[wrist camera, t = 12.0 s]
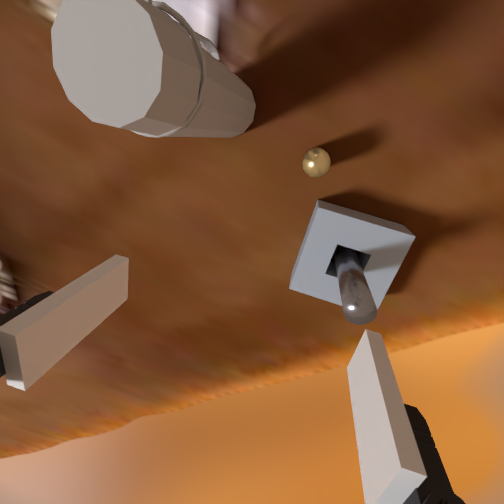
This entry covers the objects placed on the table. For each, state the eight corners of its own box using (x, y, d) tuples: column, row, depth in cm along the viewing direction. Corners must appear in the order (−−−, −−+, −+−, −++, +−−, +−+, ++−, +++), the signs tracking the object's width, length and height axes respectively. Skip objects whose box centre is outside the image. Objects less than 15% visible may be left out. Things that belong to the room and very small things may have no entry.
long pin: (337, 238, 41) (350, 293, 27) (358, 244, 41) (382, 303, 26) (330, 256, 43) (338, 318, 28) (349, 263, 42) (369, 328, 28)
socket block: (317, 199, 40) (318, 207, 35) (403, 225, 39) (415, 236, 34) (291, 273, 45) (289, 288, 40) (367, 297, 44) (373, 316, 39)
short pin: (308, 144, 38) (307, 145, 31) (331, 150, 37) (334, 152, 31) (301, 167, 39) (299, 172, 32) (322, 173, 39) (324, 180, 32)
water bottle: (261, 136, 38) (184, 132, 16) (205, 139, 40) (61, 141, 17) (257, 55, 35) (154, -100, 12) (197, 62, 37) (6, -63, 14)
